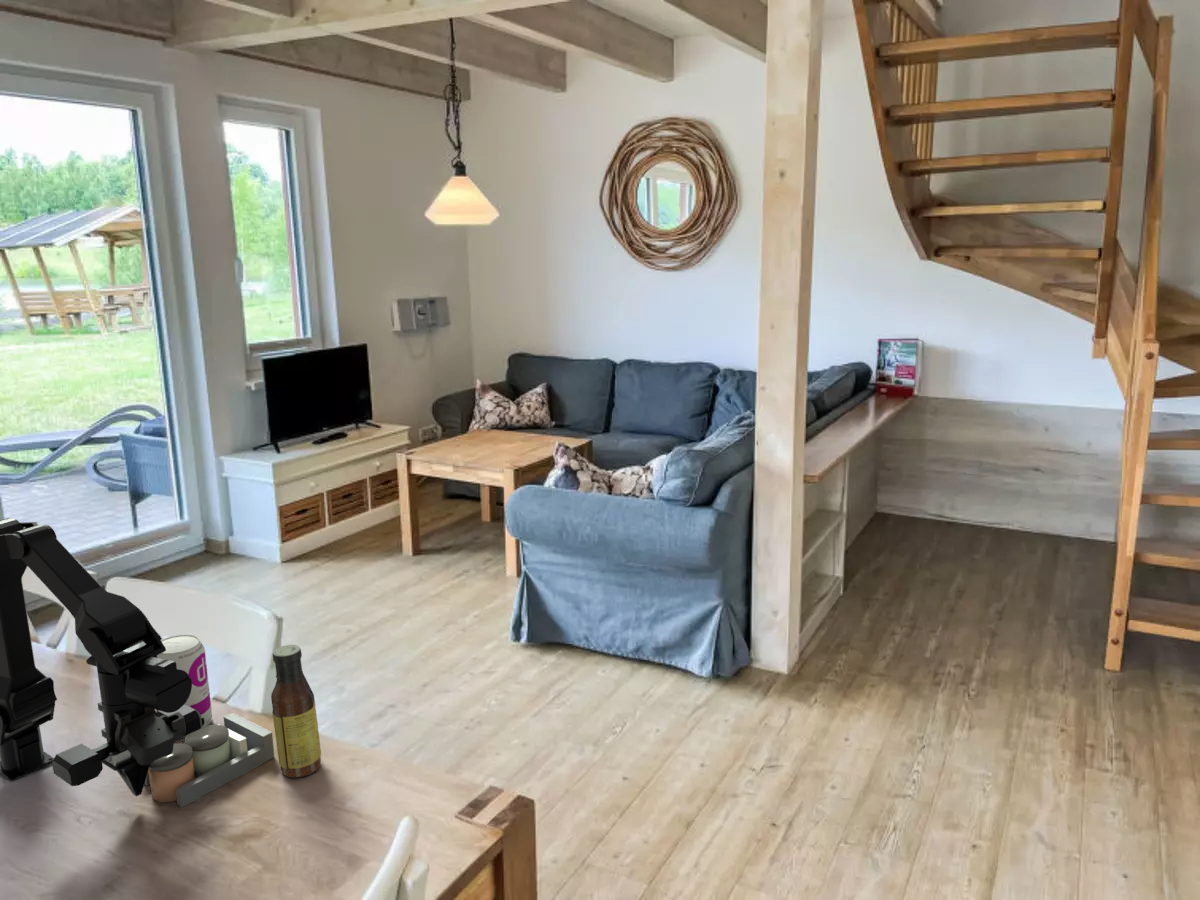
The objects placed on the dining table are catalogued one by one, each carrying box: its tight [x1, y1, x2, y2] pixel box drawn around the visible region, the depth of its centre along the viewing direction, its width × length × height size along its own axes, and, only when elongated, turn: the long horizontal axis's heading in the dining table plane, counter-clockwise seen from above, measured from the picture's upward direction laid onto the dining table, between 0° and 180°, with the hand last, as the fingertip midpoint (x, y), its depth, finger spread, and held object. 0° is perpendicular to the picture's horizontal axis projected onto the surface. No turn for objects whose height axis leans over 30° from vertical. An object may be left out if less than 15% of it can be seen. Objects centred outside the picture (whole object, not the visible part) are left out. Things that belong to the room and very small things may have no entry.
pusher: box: [216, 723, 248, 760], centre depth 143 cm, size 7×1×4 cm, turn 55°
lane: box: [144, 712, 275, 808], centre depth 140 cm, size 10×16×4 cm
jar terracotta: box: [148, 742, 195, 803], centre depth 135 cm, size 6×6×6 cm
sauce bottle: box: [270, 644, 322, 779], centre depth 138 cm, size 6×6×20 cm
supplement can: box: [155, 634, 213, 738], centre depth 151 cm, size 8×8×15 cm
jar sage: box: [184, 724, 231, 779], centre depth 140 cm, size 6×6×6 cm
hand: (137, 794), depth 131 cm, fingers closed
